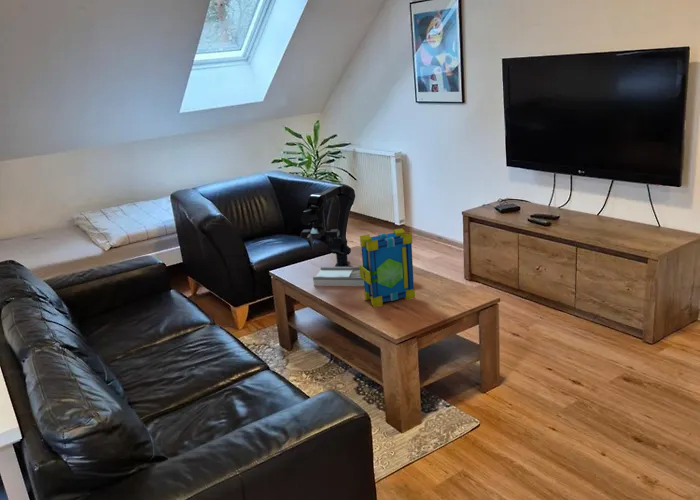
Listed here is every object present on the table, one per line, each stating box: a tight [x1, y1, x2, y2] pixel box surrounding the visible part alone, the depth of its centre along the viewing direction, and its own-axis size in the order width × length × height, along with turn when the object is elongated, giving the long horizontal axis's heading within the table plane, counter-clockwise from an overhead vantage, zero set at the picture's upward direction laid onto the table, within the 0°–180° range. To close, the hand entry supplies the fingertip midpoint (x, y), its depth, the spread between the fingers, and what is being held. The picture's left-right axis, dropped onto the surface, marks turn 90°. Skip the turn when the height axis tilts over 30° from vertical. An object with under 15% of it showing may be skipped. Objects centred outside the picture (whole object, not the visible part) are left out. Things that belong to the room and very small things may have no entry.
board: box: [312, 266, 364, 287], centre depth 308 cm, size 15×31×5 cm, turn 77°
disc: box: [351, 270, 360, 277], centre depth 307 cm, size 11×11×4 cm
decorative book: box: [358, 227, 416, 308], centre depth 278 cm, size 14×23×30 cm, turn 111°
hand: (321, 250), depth 315 cm, fingers open, 9 cm apart
